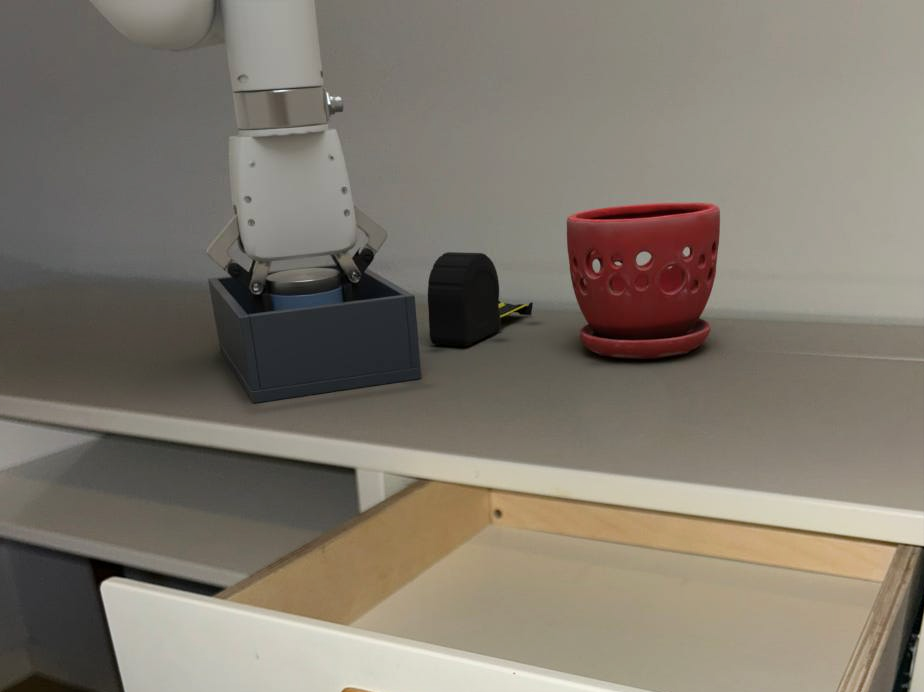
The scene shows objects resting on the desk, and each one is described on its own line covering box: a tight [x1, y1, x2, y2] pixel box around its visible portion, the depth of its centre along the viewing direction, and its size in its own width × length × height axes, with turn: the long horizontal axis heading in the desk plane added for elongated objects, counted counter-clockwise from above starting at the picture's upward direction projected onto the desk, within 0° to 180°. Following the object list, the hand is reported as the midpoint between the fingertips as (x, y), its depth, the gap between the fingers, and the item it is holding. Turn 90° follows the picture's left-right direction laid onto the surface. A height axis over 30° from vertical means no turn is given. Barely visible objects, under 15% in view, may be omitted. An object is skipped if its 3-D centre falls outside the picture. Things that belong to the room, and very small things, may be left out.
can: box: [266, 268, 344, 311], centre depth 97 cm, size 7×7×7 cm
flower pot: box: [566, 202, 721, 360], centre depth 94 cm, size 13×13×12 cm
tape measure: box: [427, 251, 534, 347], centre depth 105 cm, size 15×4×8 cm, turn 152°
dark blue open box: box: [207, 263, 422, 404], centre depth 97 cm, size 15×21×7 cm
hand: (309, 330), depth 97 cm, fingers closed on can, 6 cm apart
